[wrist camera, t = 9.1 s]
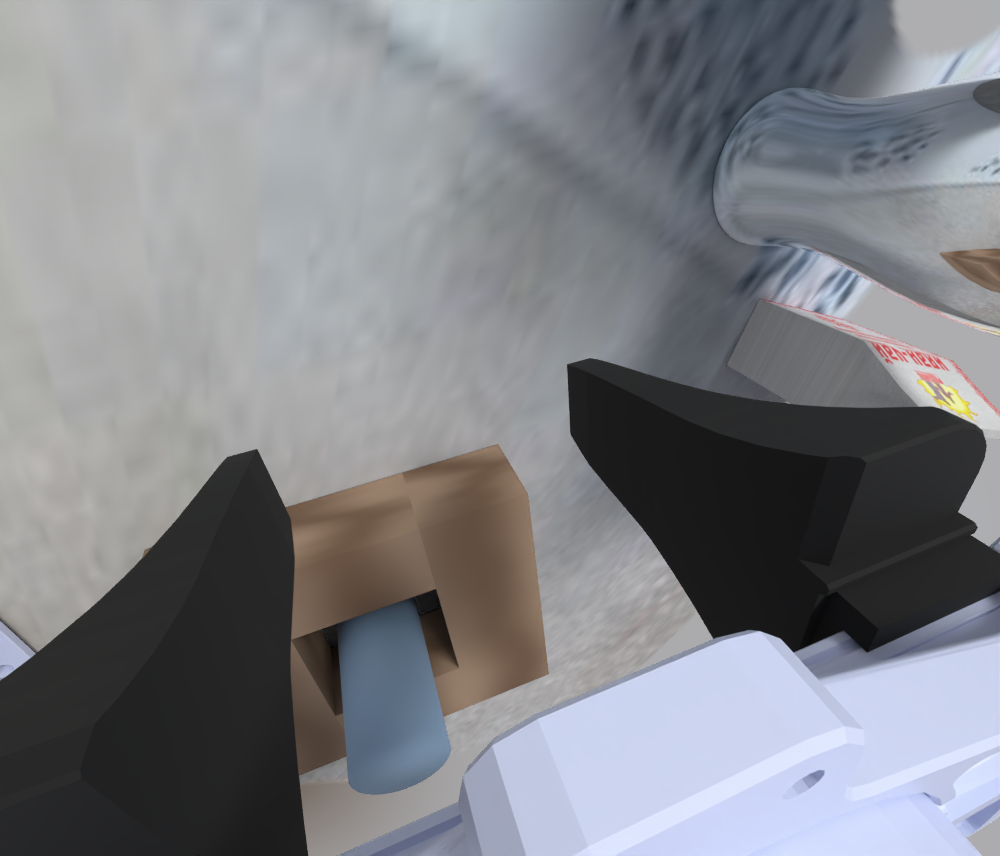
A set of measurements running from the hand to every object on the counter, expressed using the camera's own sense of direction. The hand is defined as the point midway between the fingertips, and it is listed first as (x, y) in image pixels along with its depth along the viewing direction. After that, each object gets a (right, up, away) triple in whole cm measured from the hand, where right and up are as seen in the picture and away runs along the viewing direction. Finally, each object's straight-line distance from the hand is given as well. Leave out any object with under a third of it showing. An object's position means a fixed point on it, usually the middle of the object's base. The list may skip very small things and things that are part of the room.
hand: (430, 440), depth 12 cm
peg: (-5, -8, +16) cm, 18 cm away
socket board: (-5, -9, +16) cm, 18 cm away
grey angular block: (+17, +5, +16) cm, 24 cm away
